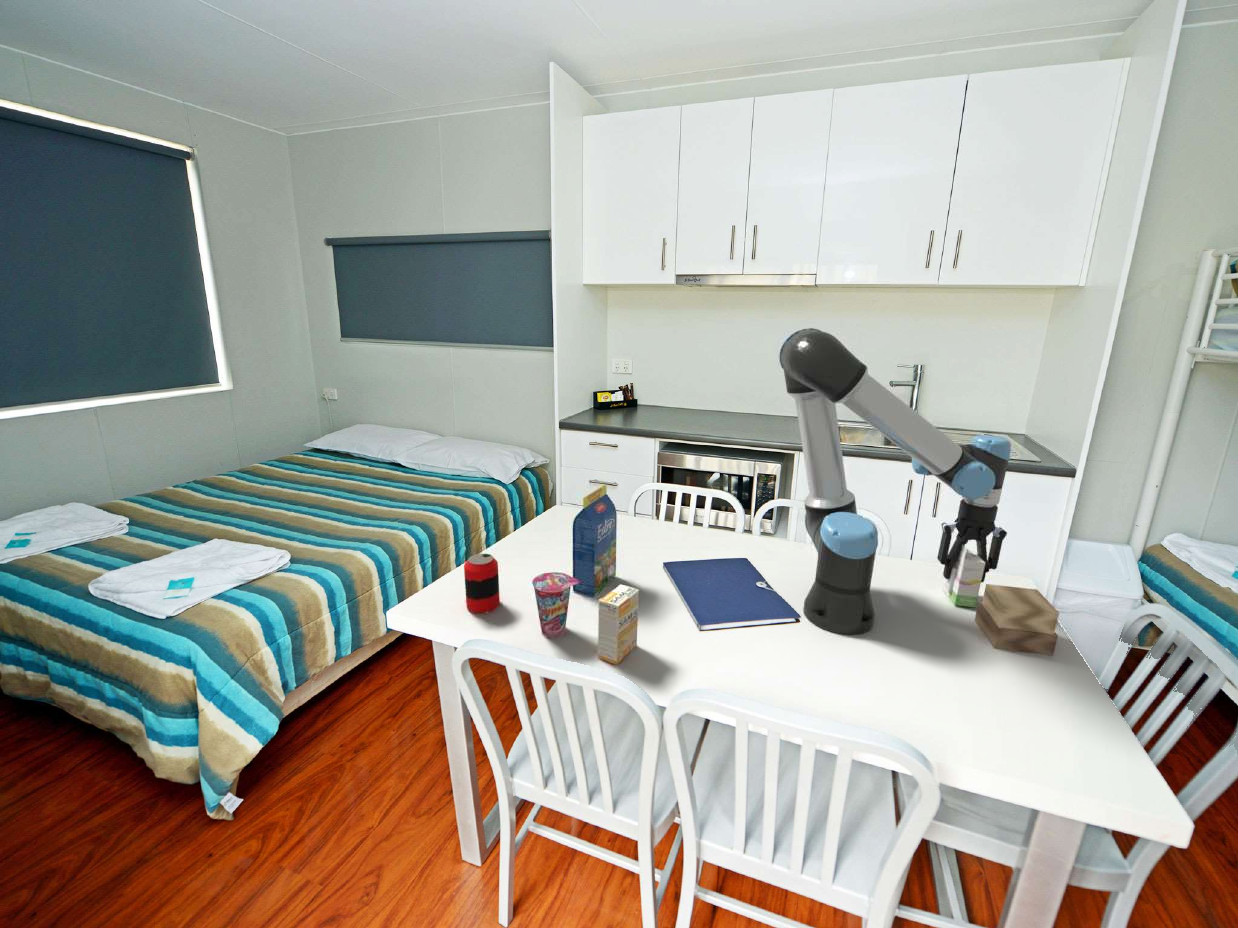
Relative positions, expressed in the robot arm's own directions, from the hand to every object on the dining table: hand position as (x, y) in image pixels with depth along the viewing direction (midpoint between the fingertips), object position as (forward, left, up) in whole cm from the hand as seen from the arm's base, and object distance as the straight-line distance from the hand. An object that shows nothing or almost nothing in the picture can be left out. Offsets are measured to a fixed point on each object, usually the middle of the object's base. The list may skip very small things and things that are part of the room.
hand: (960, 591), depth 140 cm
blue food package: (-89, -12, -2) cm, 90 cm away
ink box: (0, 0, -2) cm, 2 cm away
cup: (-92, -34, -2) cm, 99 cm away
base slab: (+5, -16, -2) cm, 17 cm away
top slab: (+5, -16, +3) cm, 17 cm away
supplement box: (-78, -39, -2) cm, 87 cm away
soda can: (-112, -28, -2) cm, 115 cm away
